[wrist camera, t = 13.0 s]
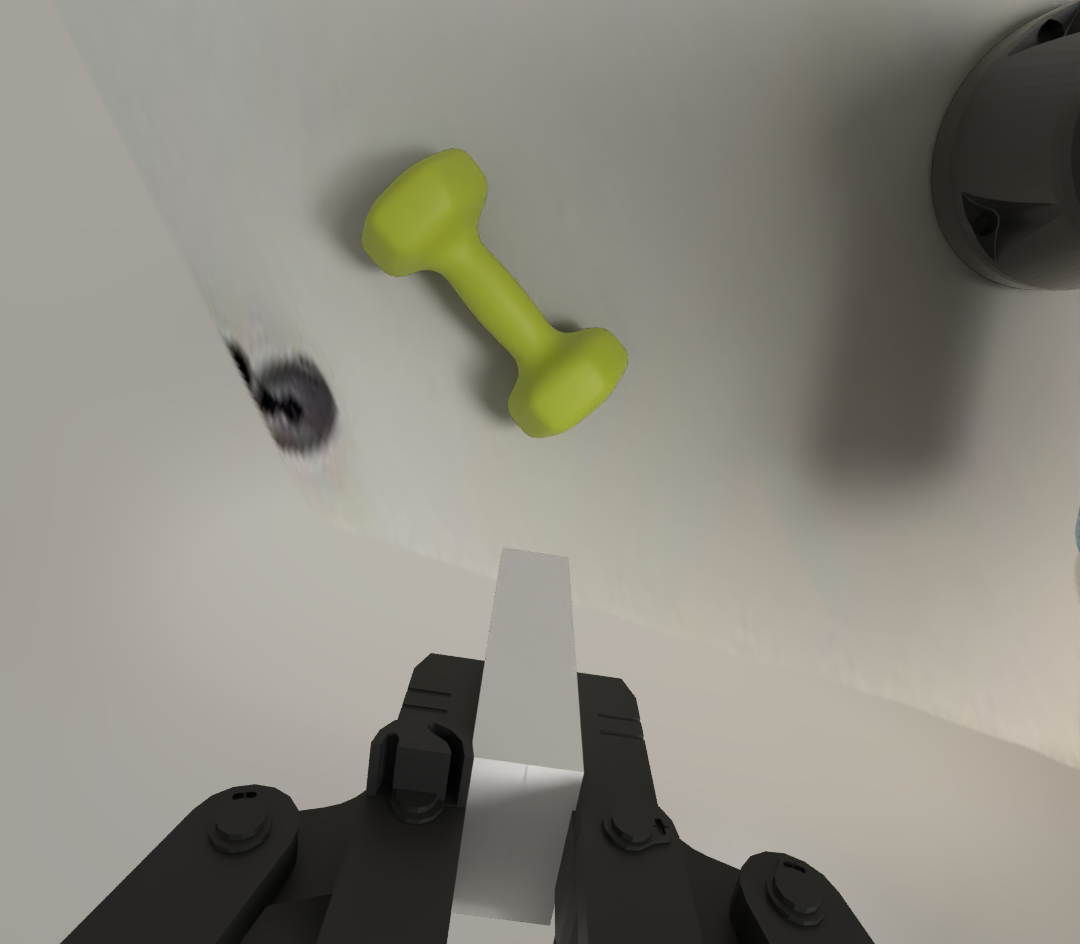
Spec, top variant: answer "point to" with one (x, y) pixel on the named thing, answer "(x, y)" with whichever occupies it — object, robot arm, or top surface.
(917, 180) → the top surface
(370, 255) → the dumbbell
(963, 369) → the top surface
